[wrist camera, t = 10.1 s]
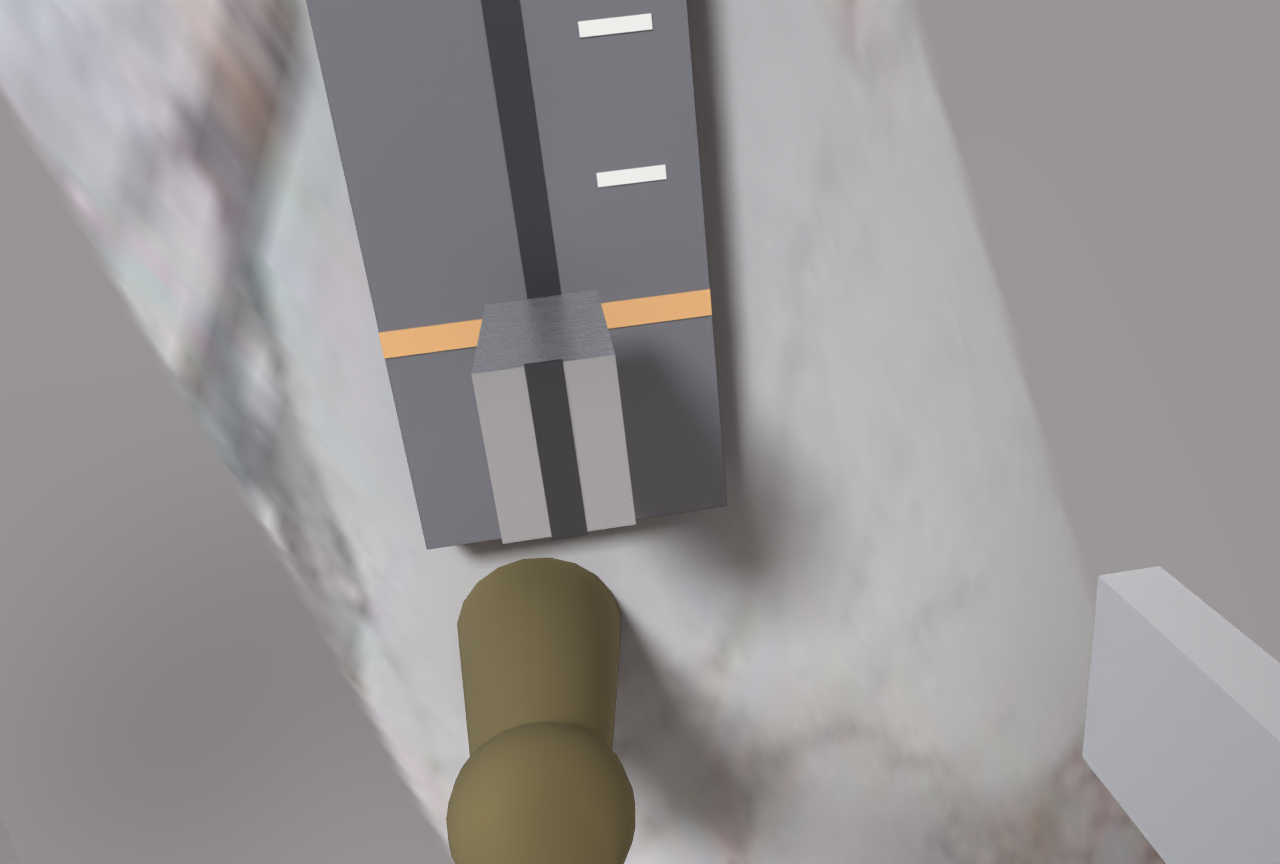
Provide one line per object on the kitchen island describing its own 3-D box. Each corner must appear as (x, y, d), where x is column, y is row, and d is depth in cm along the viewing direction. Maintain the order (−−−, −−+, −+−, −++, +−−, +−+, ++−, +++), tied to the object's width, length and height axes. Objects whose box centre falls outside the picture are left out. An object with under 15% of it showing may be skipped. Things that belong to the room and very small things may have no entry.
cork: (510, 721, 36) (500, 982, 26) (425, 605, 34) (378, 840, 24) (649, 652, 35) (695, 890, 25) (572, 529, 33) (589, 735, 23)
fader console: (271, -230, 24) (249, -255, 22) (653, -267, 25) (662, -294, 23) (432, 521, 32) (426, 550, 31) (716, 481, 33) (727, 506, 31)
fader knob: (489, 281, 27) (470, 372, 19) (591, 268, 27) (614, 353, 19) (511, 412, 29) (502, 546, 21) (608, 399, 29) (636, 527, 21)
